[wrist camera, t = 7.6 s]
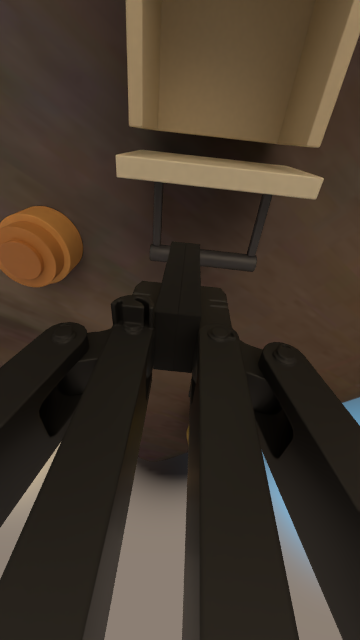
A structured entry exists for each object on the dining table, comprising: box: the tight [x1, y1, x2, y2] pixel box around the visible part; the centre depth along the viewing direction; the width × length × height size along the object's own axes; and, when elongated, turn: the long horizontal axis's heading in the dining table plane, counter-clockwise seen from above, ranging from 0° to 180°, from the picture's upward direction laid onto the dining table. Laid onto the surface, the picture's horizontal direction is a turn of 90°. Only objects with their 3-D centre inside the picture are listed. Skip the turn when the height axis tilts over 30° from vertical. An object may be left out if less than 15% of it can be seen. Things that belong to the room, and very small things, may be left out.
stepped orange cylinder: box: [0, 206, 83, 287], centre depth 25 cm, size 7×7×6 cm
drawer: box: [116, 0, 360, 272], centre depth 16 cm, size 22×13×8 cm, turn 175°
